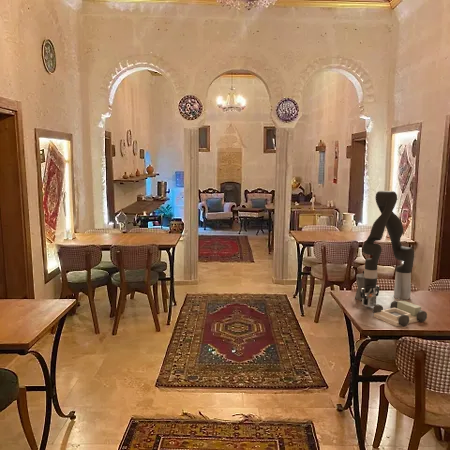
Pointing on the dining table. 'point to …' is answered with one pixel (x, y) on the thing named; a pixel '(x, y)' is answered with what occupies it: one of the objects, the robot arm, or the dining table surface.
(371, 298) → the cube with copper knob
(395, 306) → the chassis
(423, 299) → the dining table surface
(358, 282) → the coffeepot
